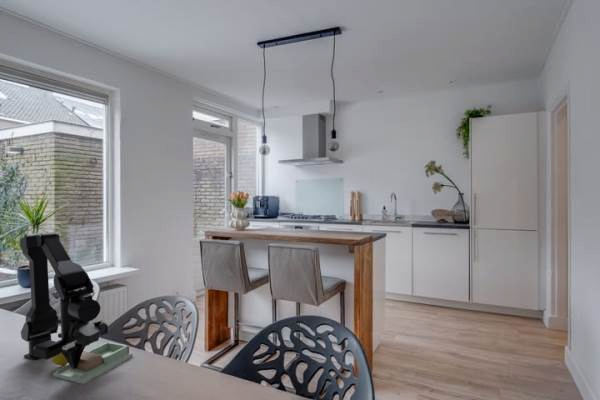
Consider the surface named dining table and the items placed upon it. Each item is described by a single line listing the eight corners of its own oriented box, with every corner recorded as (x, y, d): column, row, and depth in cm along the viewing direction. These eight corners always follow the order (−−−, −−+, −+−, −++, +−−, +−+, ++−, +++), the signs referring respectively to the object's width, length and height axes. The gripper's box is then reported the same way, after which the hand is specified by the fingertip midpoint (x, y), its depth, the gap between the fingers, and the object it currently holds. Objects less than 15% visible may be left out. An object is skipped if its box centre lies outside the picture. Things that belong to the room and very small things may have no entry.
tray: (53, 376, 101) (52, 365, 101) (105, 350, 117) (104, 341, 117) (83, 383, 97) (82, 372, 97) (132, 356, 113) (132, 346, 113)
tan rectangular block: (70, 366, 104) (69, 356, 104) (82, 360, 108) (82, 350, 108) (89, 371, 101) (89, 361, 101) (102, 364, 105) (101, 354, 105)
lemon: (63, 371, 104) (62, 344, 104) (47, 370, 105) (46, 343, 105) (78, 362, 109) (77, 337, 109) (63, 361, 110) (62, 335, 110)
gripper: (59, 330, 89) (62, 391, 89) (121, 306, 106) (122, 358, 107) (30, 324, 93) (32, 383, 93) (94, 303, 110) (95, 352, 111)
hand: (74, 368), depth 101 cm, fingers closed
